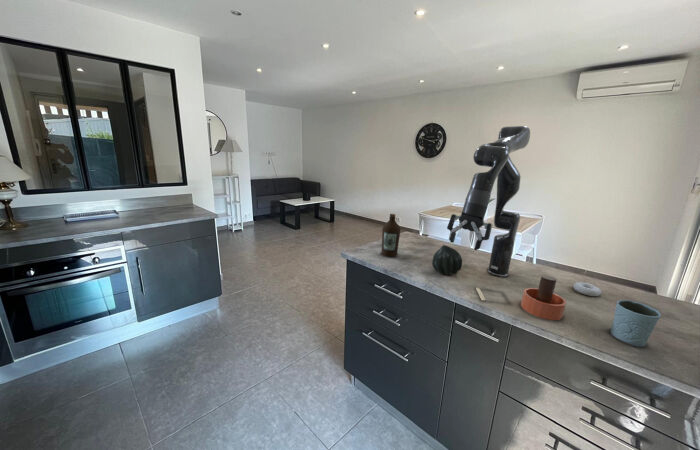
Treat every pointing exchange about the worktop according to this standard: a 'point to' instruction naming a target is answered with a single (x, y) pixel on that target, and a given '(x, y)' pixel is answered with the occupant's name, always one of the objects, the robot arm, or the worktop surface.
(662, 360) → the worktop surface
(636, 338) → the blue embossed planter
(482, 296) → the cloth
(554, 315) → the pot
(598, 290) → the donut
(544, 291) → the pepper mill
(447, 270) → the squash
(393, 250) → the olive oil
